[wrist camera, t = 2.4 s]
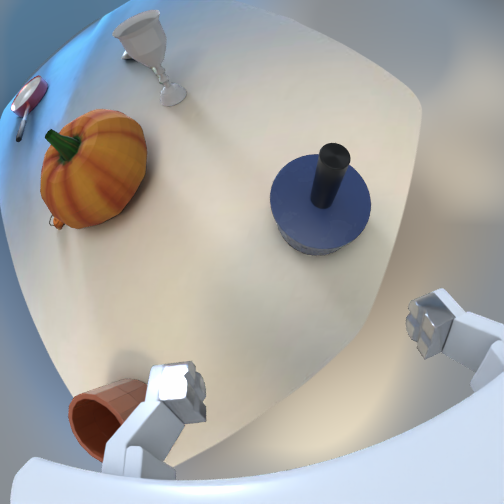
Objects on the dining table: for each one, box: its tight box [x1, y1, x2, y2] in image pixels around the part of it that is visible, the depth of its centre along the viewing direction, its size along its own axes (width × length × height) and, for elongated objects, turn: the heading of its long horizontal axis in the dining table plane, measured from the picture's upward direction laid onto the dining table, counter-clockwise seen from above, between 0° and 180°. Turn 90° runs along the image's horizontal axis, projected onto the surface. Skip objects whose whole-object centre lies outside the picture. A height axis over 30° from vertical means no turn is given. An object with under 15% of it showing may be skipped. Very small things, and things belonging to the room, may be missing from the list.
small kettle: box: [49, 216, 64, 230], centre depth 39 cm, size 3×3×3 cm
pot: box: [68, 379, 148, 463], centre depth 28 cm, size 10×10×10 cm
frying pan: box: [11, 76, 48, 142], centre depth 47 cm, size 32×13×6 cm, turn 37°
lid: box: [270, 143, 371, 250], centre depth 26 cm, size 11×11×10 cm
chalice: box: [112, 10, 187, 106], centre depth 34 cm, size 7×7×18 cm
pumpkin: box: [40, 109, 147, 229], centre depth 33 cm, size 19×19×15 cm
